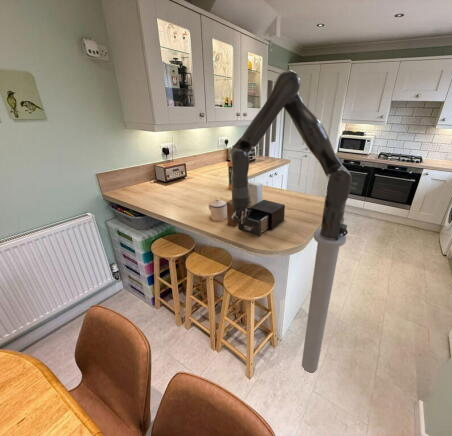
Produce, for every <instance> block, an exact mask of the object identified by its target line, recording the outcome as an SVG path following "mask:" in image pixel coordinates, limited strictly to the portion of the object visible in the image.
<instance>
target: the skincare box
mask: <svg viewBox="0 0 452 436" xmlns="http://www.w3.org/2000/svg"><path fill="white" fill-rule="evenodd" d="M248 187H249V205H248V207H249V208H250V207H252V206H253V205H255V204H257V203H259V202H260V201H262V200H263V198H264V197H263V183H262V182H259V181H256V180H252V179H249V178H248Z"/></svg>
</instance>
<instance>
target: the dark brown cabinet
mask: <svg viewBox="0 0 452 436" xmlns="http://www.w3.org/2000/svg"><path fill="white" fill-rule="evenodd" d="M249 208H251V210H256V211H259V212H263V213H267V214H270V215H271V216H270V228H268V229H267V230H269V231H273V230H274V229H275V228H276V227H278V226H279V225H280V224H282V223H283V222H284V221H285V213H286V211H285V210H286V204H283V203H279V202H275V201H272V200H268V199H262V201H260V202H259V203H257V204H255V205H253V206H252V207H250V206H249Z"/></svg>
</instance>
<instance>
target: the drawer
mask: <svg viewBox="0 0 452 436" xmlns="http://www.w3.org/2000/svg"><path fill="white" fill-rule="evenodd" d="M270 216H271V215H270V214H267V213H263V212H259V211H256V210H251V211H250V214H249V216H248V219H247V220H245V223H244V224H245V227H244V230H243V231H242V232H244V233H247V234H249V235H252V236H255V237H259V238H260V237H261V235H262V234H263V233H265V232H266V230H269V229H268V228H270Z"/></svg>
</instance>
